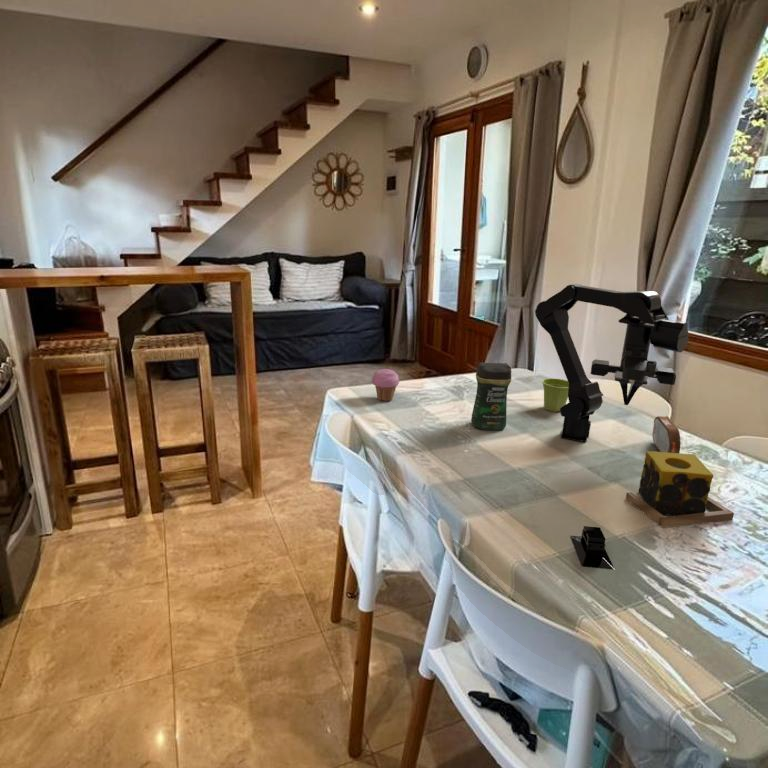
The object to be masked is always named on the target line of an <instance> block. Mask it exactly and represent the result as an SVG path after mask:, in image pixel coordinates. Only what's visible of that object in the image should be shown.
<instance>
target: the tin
mask: <svg viewBox="0 0 768 768" xmlns="http://www.w3.org/2000/svg"><path fill="white" fill-rule="evenodd" d="M652 441H653V444H654V446H655V447H656V449H657V450H658V452H667V453H680V452H681V433H680V430H679V428H678V426H677V425H676V424H675V423H674V422H673V421H672V419H671V418H670V417H669V416H667V415H666V416H659V415H657V416H656V417H655V418H654V420H653V428H652Z"/></svg>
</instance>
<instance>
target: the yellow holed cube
mask: <svg viewBox="0 0 768 768" xmlns="http://www.w3.org/2000/svg"><path fill="white" fill-rule="evenodd" d="M713 478H714V473H713V472H712V471H710V470H709V469H708V468H707V466H706V465H704V463H703V462H702V461H701V460H700V459H699V458H698V456H697V455H695V454H694V453H680V452H679V453H667V452H659V451H652V450H651V451H649V450H646V451H645V458H644V464H643V469H642V472H641V476H640V480H639V489H638V493H640V495H641V497H642V496H643V497H642V498H643V499H642V500H643V501H644V500H645V501H646V503H647V504H648V505H650V506H651V507H652V508H654V509H655V510H657V511H658V512H659V513H661V514H662V515H663V516H678V515H687V514H696V513H706V511H707V500H708V497H709V495H710V494H709V493H710V491H711V484H712V481H713ZM645 501H644V502H645Z"/></svg>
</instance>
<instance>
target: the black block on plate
mask: <svg viewBox="0 0 768 768" xmlns="http://www.w3.org/2000/svg"><path fill="white" fill-rule="evenodd" d="M569 537H570V541H571V543H572V545H573V547H574V550H575V553H576V556H577V559H578V561H579V564H580V566H581V567H584V568H590V569H591V568H592V569H593V568H594V569H603V570H616V569H615V566H614V565H613V562H612V561H611V559H610V556H609V554H608V552H607V551H606V537H605V535H604V532H603V530H602V529H601V527H600V526H598V527H596V526H587V525H583V527H582V531H581V536H578V535H569Z"/></svg>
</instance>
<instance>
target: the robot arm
mask: <svg viewBox="0 0 768 768" xmlns="http://www.w3.org/2000/svg"><path fill="white" fill-rule="evenodd" d="M578 302H582V303H587V304H594V305H600V306H606V307H610V308H614V309H617V310H618V311H620V312H622V313H624V314H625V315H624V316H622V317H621V318H620V319H618V323H619V324H620V323H621V324H625V325H626V329H625V330H626V331H625V335H624V343H623V347H622V352H621V359H620V364H619V365H613V364H610V360H604V359H596V358H595V359H594V360H592V361H591V367H590V375H592V376H597V377H598V376H600V377H605V376H607V375H608V374H609V373H611V374H614V375H613V376H614V381H616V382H618V383H619V385H620V389H621V391H622V398H623V405H625V406H628V405H629V404H630V402H631V400H632V399H633V397H634V396H635V394H636V392H637V391H638V390H639V388H640V387H641V386H643V385H648V379H649V378H650V379H651V378H652V379H656V380H657V381H658V382H659V384H660V385H661V384H663V385H671V386H674V385H676V378H677V374H676V372H675V370H674V369H673V367H672V368H671V367H662V366H657V363H658V362H657V361H655V360H648V357H649V351H650V348H651V345H652V346H653V347H654V348H656V349H661V350H666V351H670V352H677V353H682V352H683V351H684V350H685V349H686V347H687V345H688V343H689V339H690V338H689V337H690V336H689V330H688V322H687V321H674V320H669V317H668V316H667V313H666V311H665V310H664V308H663V306H662V298H661V295H659V293H658V292H656V291H655V290H654V291H653V290H640V291H637V290H636V291H619V290H614V289H612V290H611V289H606V288H601V287H593V286H588V285H582V284H580V283H576V284H575V283H573V284H568V285H566V286H565V287H564V288H562V290H560V291H559V292H557V293H555V294H554V295H552V296H550V297H549V298H548V299H546V300H542V301H540V302H539V303H538V304H537V306H536V308H535V309H534V314H535V318H536V319H537V321H538V323H539V325H540V326H541V327H542V328H543V329H544V331H546V332H547V333H548V334H549V336H550V338H551V341H552V344H553V346H554V348H555V351H556V354H557V357H558V359H559V362H560V363H561V368H562V369H563V372H564V374H565V378H566V380H567V381H568V383H569V388H568V399H567V400H568V403H566V405H564V406H563V407H561V408H560V411H559V412H560V416H561V417H563V424H562V429H561V434H560V438H561V439H565V440H566V439H567V440H573V441H578V442H583V443H586V442H587V439H589V437H590V429H591V423H592V421H591V420H590V416H591V415H594V413H595V411H598V410H599V409H600V408H601V407H602V404H603V396H604V394H603V392H602V391H601V389H600V384H599V383H598V381H594V382H593V381H591V380H590V379H589V378H588V377H587V375H586V372H585V370H584V367H583V364H582V361H581V359H580V356H579V354H578V352H577V351H578V350H577V348H576V346H575V343H574V341H573V338H572V336H571V333H570V330H569V323H570V321H569V319H570V316H569V311H570V310H571V309H573V307H575V305H576V304H577V303H578ZM629 380H630V381H631V382H630V385H629V389H628V383H629Z"/></svg>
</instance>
